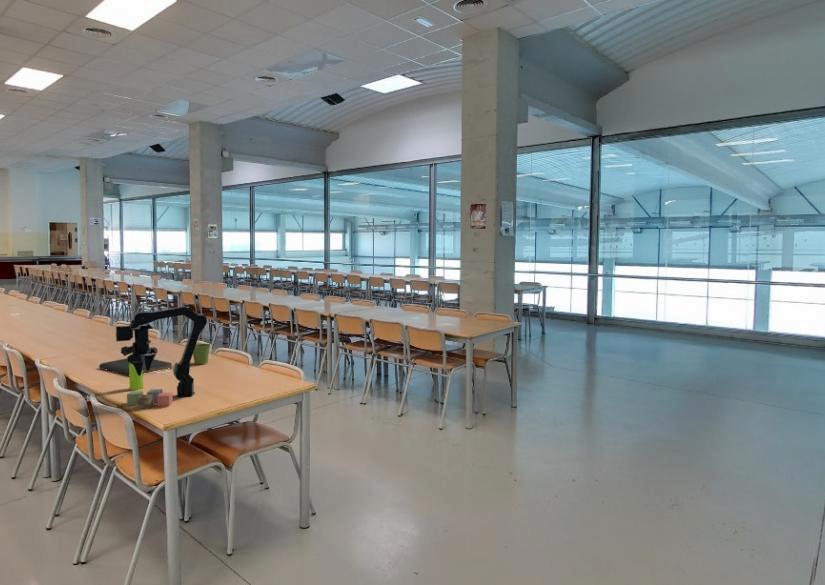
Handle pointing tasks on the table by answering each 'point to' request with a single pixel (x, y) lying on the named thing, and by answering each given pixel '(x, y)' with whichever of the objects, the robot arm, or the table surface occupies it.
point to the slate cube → (154, 393)
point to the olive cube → (133, 397)
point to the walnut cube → (144, 401)
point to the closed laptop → (123, 366)
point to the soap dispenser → (135, 378)
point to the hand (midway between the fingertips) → (143, 372)
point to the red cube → (164, 399)
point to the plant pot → (201, 353)
